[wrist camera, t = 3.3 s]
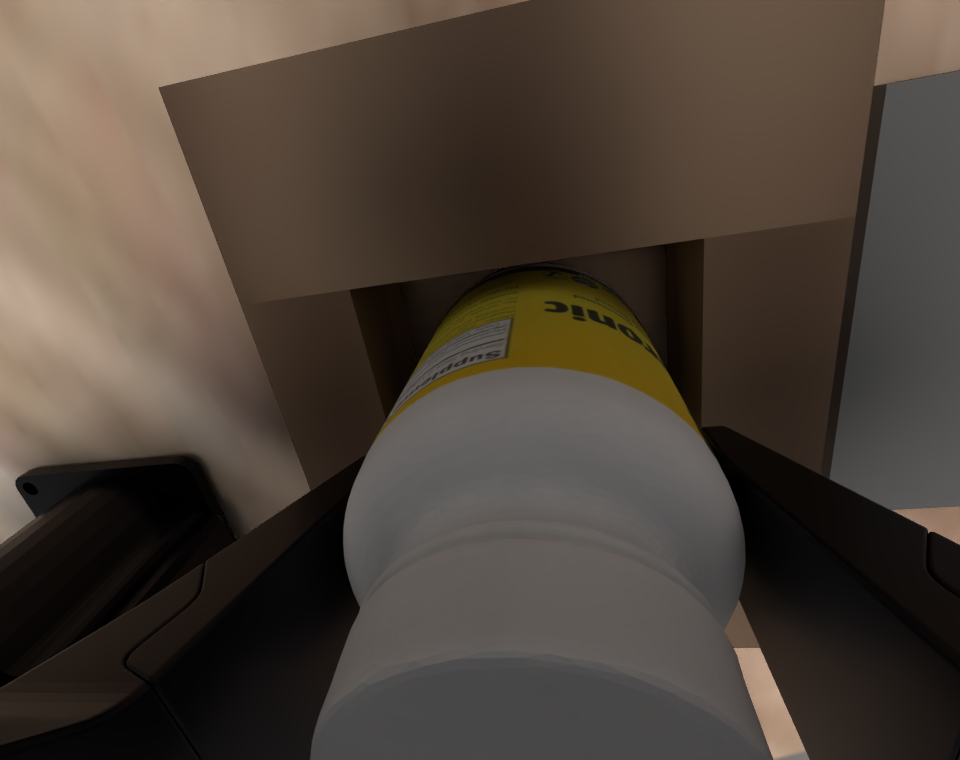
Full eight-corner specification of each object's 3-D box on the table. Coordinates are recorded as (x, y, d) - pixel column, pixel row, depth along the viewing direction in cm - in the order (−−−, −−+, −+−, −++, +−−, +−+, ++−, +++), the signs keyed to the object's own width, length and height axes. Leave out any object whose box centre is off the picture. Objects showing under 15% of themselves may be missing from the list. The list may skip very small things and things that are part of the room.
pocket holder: (399, 569, 17) (372, 652, 14) (251, 100, 11) (158, 87, 8) (751, 555, 15) (796, 647, 12) (793, -21, 9) (896, -87, 6)
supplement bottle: (686, 385, 13) (997, 916, 4) (515, 479, 15) (475, 983, 6) (568, 208, 11) (655, 444, 3) (393, 338, 13) (98, 735, 4)
